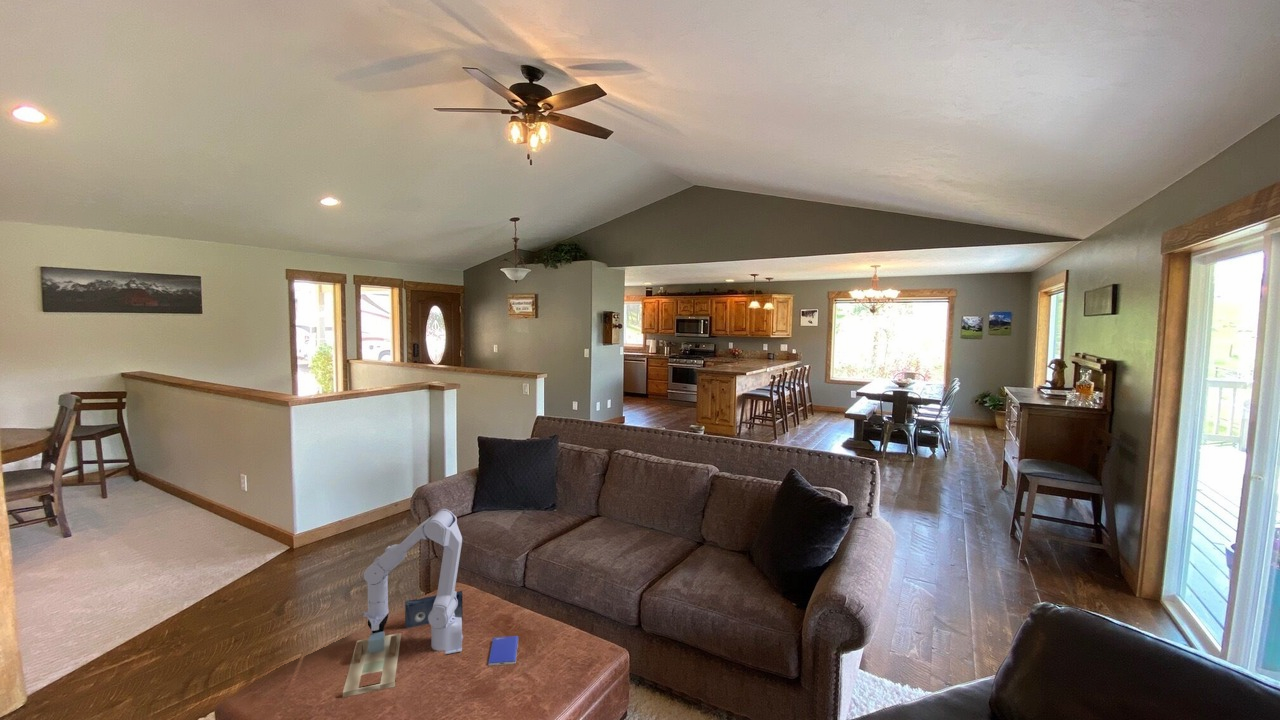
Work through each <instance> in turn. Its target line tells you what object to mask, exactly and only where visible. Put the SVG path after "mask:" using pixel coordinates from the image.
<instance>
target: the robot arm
mask: <svg viewBox="0 0 1280 720" xmlns="http://www.w3.org/2000/svg"><path fill="white" fill-rule="evenodd" d="M461 533H462V532H461V531H460V528H459V525H458V518H457V516H456V515H455V513H453V512H452V511H451V510H449V509H447V508H442V509H439V510H438V511H436V512H435V514H433V515H431V516H429V517H428V518H426V519H425V520H424V521H423V522H422V523H420V524H419V525H418V526H417V527H415V529H414V530H413V531H412V532H411V533H409V534H408V536H406V538H404V540H402V542H400V543H399V544H398V543H397V544H392V545H388V546H387V547H386V548H385V549H384V552H383V553H382V554H381V555H380V556H377V557H376V558H374V561H373V562H371V564H370V565H369V566H367V568H366V569H365V570H364V572H363V578H364V581H365V582H366V583H367V611H365V612H364V613H363V618H367V619H368V620H367V627H369V629H370V631H371V633H377V632H383V631H385V626H386V624H387V623H388V619H389V612H390V609H389V590H388V589H389V586H388V585H389V583H388V581H389V580H388V579H389V577H388V576H389V574H390V573H391V572H392V571H393V570H394V569H395V568H396V567H397V566H399V564H401V562H402V561H404V560H405V559H406V556H407V551H409V550H410V549H411V548H412V547H413V546H414V545H415V544H417V543H418V542H419V541H420V540H422V539H423V540H428V539H430V541H433V542H435V543H436V544H439V545H440V546H442V547H443V551H442V552H443V554H442V560H441V567H440V573H439V580H438V585H437V586H438V587H437V591H436V592H437V593H436V595H437V596H436V595H435V596H436V599H435V601H434V604H433V608H432V611H431V612H430V613H429V615H428V621H429V623H430V624H429V625H430V627H431V629H430V630H431V631H430V633H431V634H430V639H431V643H430V644H431V648H432V650H434V651H438V652H439V651H440V652H441V651H444V655H449V654H455V653H459V652H462V651H463V641H464V634H463V620H462V617H455V614H454V611H455V609H456V608H457V606H458V600H457V598H456V594H457V592H458V591H457V590H456V585H457V577H458V571H459V565H460V564H459V563H460V558H461V550H462V545H463V536H462V534H461Z"/></svg>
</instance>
